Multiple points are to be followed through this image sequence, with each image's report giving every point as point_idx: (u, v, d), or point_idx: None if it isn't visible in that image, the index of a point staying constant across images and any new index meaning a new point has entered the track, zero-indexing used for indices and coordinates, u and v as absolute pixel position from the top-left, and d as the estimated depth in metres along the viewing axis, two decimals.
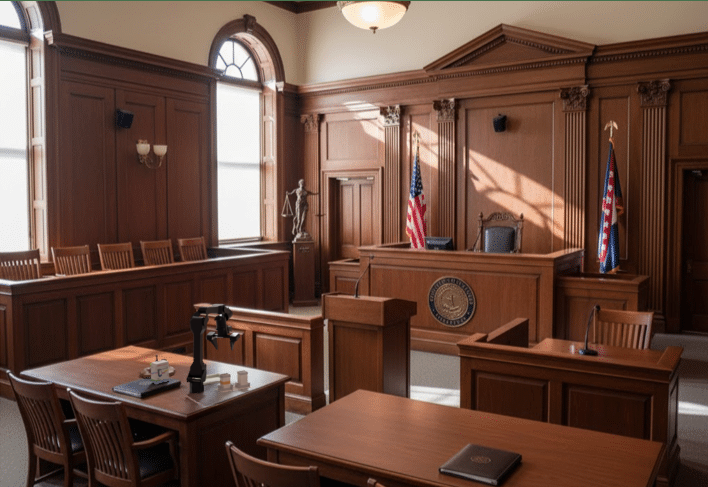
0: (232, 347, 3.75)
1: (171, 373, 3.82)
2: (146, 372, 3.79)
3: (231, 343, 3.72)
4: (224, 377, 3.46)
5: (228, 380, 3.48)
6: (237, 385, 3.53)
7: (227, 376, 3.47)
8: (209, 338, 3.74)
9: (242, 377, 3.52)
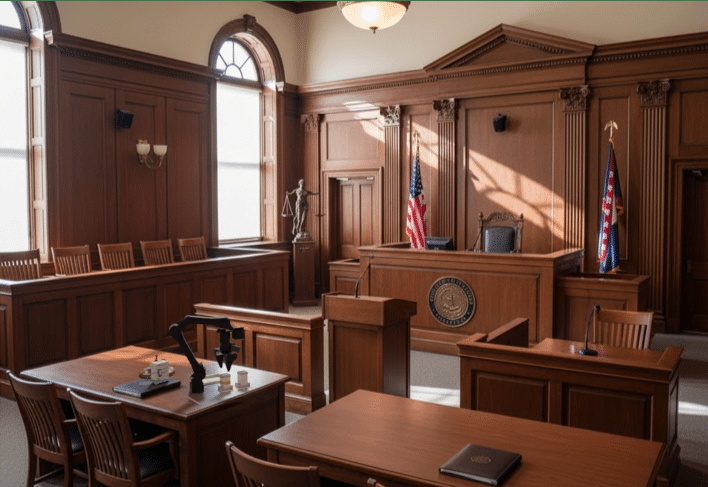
0: (227, 367, 3.43)
1: (170, 373, 3.81)
2: (145, 372, 3.79)
3: (225, 362, 3.42)
4: (224, 377, 3.46)
5: (228, 380, 3.48)
6: (237, 385, 3.53)
7: (227, 376, 3.47)
8: (213, 352, 3.52)
9: (242, 377, 3.52)
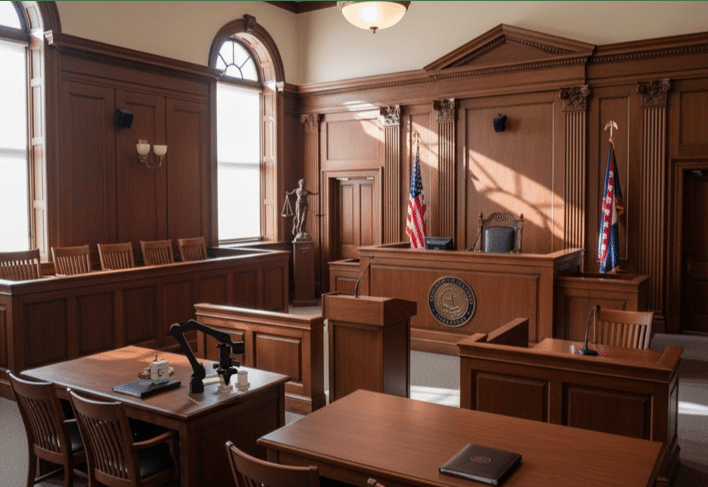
0: (225, 381, 3.46)
1: None
2: (144, 372, 3.80)
3: (223, 376, 3.44)
4: None
5: None
6: (237, 385, 3.53)
7: None
8: (214, 367, 3.52)
9: (242, 377, 3.52)
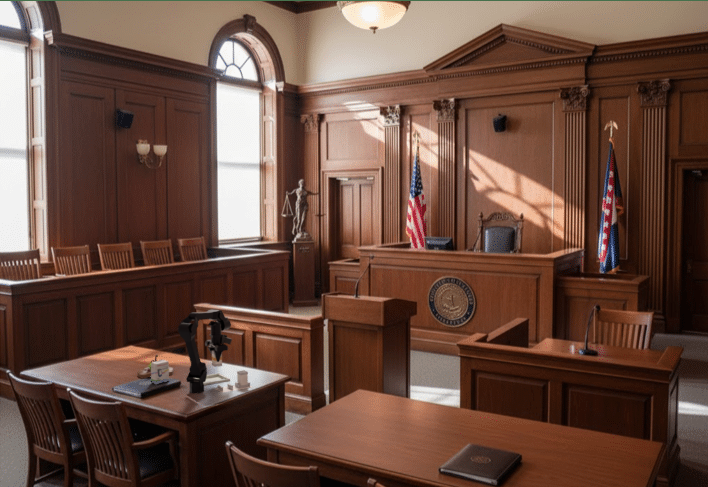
0: (217, 357, 3.58)
1: None
2: (142, 371, 3.80)
3: (214, 352, 3.56)
4: None
5: None
6: (237, 385, 3.53)
7: None
8: (206, 344, 3.64)
9: (242, 377, 3.52)
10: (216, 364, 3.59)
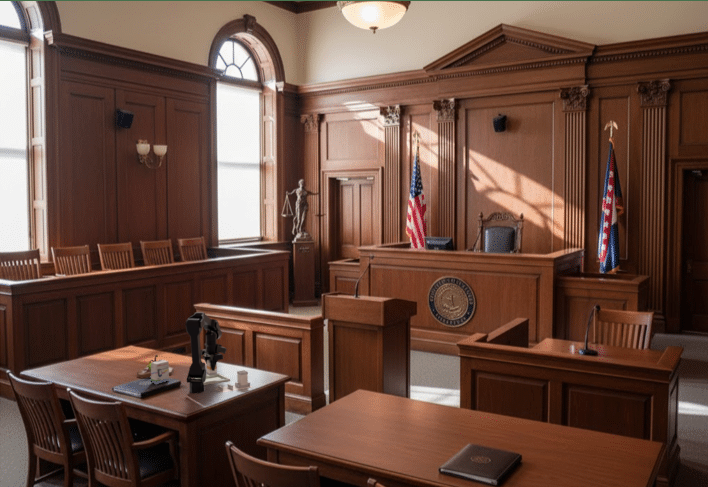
0: (212, 366, 3.65)
1: None
2: (141, 371, 3.81)
3: (209, 361, 3.63)
4: None
5: None
6: (237, 385, 3.53)
7: None
8: (201, 353, 3.71)
9: (242, 377, 3.52)
10: (211, 373, 3.66)
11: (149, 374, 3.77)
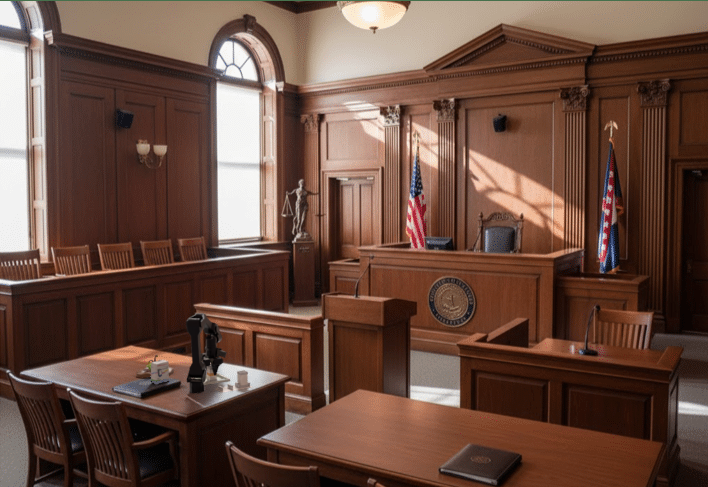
0: (214, 371, 3.63)
1: None
2: (140, 371, 3.81)
3: (211, 366, 3.61)
4: (211, 369, 3.65)
5: None
6: (237, 385, 3.53)
7: None
8: (201, 357, 3.71)
9: (242, 377, 3.52)
10: (211, 379, 3.66)
11: (147, 374, 3.77)
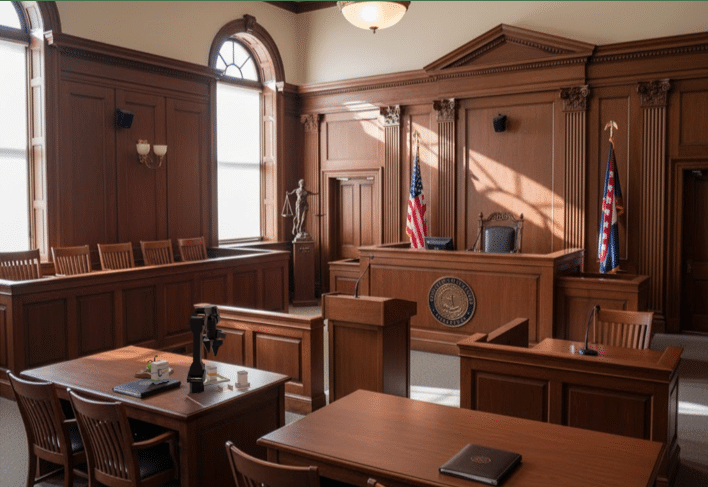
0: (214, 352, 3.68)
1: None
2: (140, 371, 3.82)
3: (211, 347, 3.67)
4: (211, 369, 3.65)
5: (214, 372, 3.67)
6: (237, 385, 3.53)
7: (213, 368, 3.66)
8: (201, 338, 3.77)
9: (242, 377, 3.52)
10: (211, 379, 3.66)
11: (145, 374, 3.77)
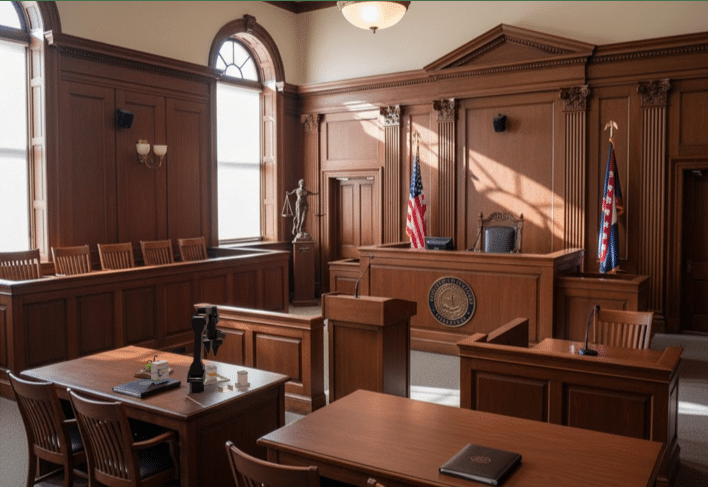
0: (213, 352, 3.72)
1: None
2: (139, 371, 3.82)
3: (211, 347, 3.70)
4: (211, 369, 3.65)
5: (214, 372, 3.67)
6: (237, 385, 3.53)
7: (213, 368, 3.66)
8: None
9: (242, 377, 3.52)
10: (211, 379, 3.66)
11: (144, 374, 3.77)
